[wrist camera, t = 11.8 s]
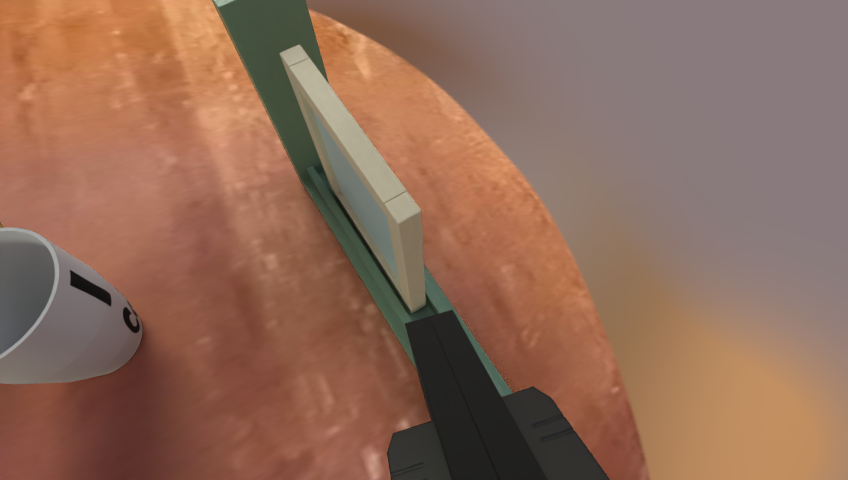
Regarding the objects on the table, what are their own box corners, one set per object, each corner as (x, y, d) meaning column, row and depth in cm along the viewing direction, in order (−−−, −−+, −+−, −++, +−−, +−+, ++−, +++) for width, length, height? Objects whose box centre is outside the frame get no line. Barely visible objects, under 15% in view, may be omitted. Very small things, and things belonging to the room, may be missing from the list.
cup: (186, 328, 32) (90, 281, 23) (92, 425, 29) (-61, 414, 20) (118, 267, 34) (6, 202, 25) (24, 352, 31) (-140, 313, 22)
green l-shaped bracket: (299, 178, 37) (207, -10, 22) (344, 155, 38) (286, -40, 23) (485, 482, 27) (552, 522, 12) (540, 440, 28) (667, 429, 13)
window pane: (332, 190, 35) (278, 52, 23) (345, 183, 35) (299, 43, 23) (411, 314, 30) (398, 224, 18) (426, 305, 31) (422, 210, 18)
